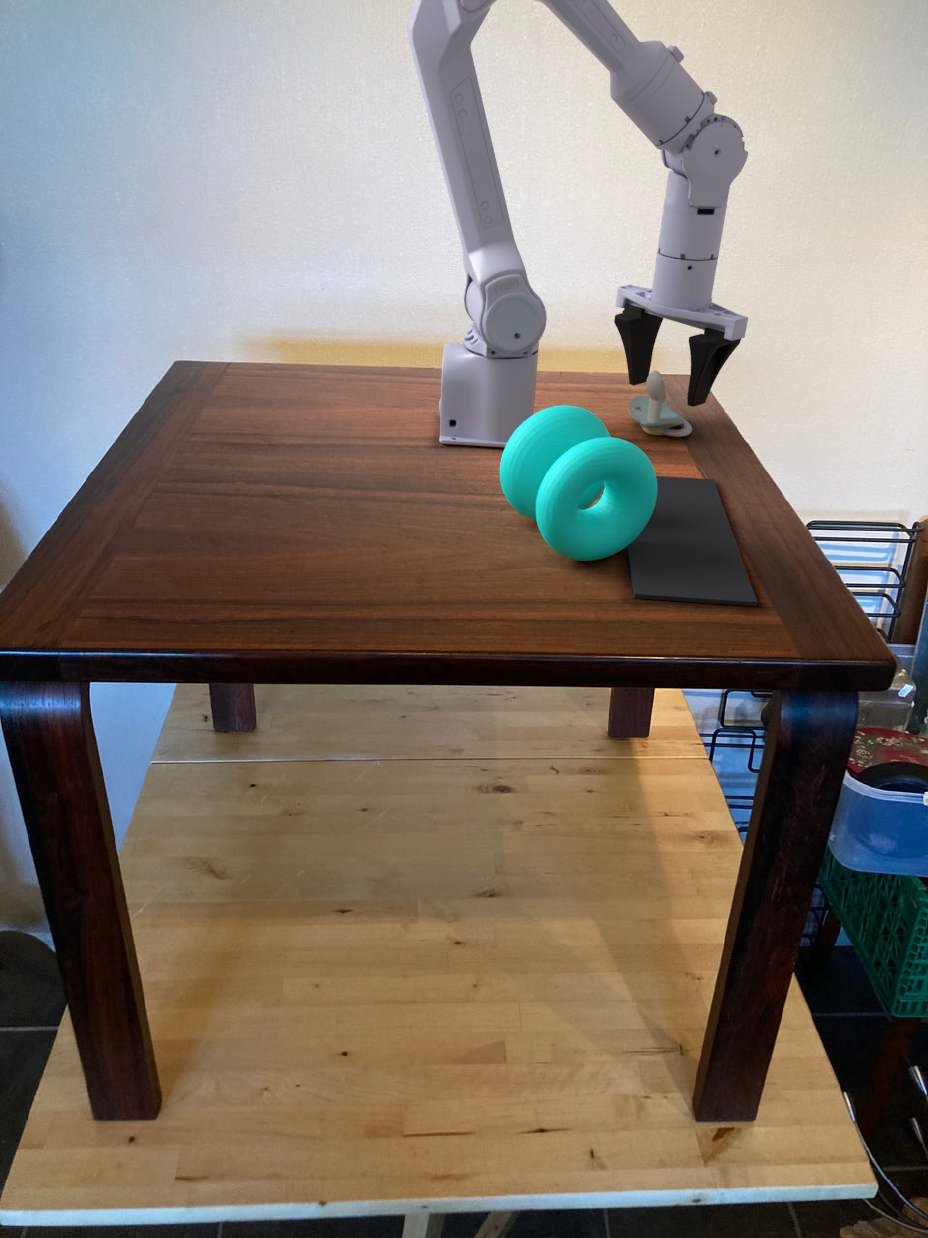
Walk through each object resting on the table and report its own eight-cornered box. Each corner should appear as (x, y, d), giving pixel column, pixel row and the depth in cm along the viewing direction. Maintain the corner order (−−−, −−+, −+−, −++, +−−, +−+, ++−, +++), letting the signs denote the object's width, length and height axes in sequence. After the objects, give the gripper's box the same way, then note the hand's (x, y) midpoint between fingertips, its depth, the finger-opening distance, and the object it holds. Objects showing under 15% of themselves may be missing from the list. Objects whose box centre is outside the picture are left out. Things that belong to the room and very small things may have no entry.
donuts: (596, 505, 85) (609, 394, 80) (654, 557, 77) (673, 439, 72) (491, 519, 82) (497, 406, 77) (540, 576, 74) (552, 453, 69)
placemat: (634, 598, 72) (634, 593, 72) (615, 477, 91) (616, 473, 90) (756, 606, 72) (757, 602, 71) (712, 483, 90) (713, 479, 90)
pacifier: (672, 416, 105) (620, 417, 104) (683, 359, 102) (630, 359, 100) (701, 442, 99) (647, 443, 98) (714, 382, 96) (657, 383, 94)
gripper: (777, 263, 90) (749, 405, 97) (655, 235, 99) (637, 367, 106) (731, 273, 86) (705, 420, 93) (608, 243, 95) (593, 379, 102)
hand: (666, 393), depth 99 cm, fingers open, 7 cm apart
